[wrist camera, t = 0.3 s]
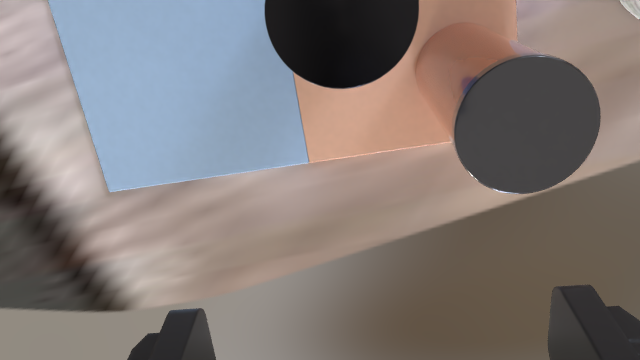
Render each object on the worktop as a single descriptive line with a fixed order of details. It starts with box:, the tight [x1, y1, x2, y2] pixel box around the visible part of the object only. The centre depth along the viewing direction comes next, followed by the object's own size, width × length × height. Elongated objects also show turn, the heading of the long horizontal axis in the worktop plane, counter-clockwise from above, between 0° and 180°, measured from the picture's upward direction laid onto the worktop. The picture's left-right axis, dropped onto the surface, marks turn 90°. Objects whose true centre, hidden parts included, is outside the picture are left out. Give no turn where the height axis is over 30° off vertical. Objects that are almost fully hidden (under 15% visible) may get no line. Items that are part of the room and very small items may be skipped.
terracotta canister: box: [415, 22, 600, 194], centre depth 26 cm, size 5×5×11 cm
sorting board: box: [48, 0, 517, 192], centre depth 31 cm, size 14×24×1 cm, turn 99°
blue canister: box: [264, 0, 419, 89], centre depth 24 cm, size 5×5×11 cm
